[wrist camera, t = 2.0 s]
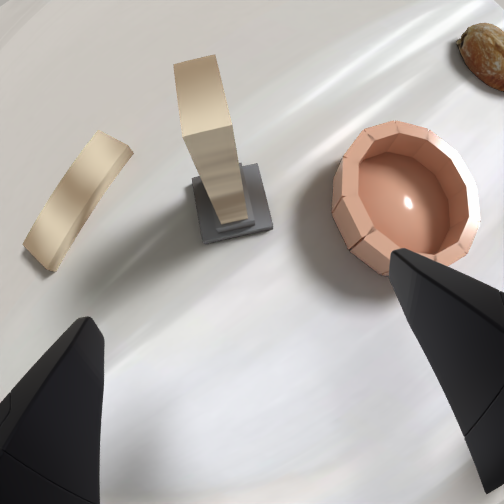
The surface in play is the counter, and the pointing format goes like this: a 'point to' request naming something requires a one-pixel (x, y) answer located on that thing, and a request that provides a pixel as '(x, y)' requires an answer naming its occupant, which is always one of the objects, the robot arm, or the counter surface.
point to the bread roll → (484, 53)
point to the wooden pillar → (217, 157)
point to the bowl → (404, 196)
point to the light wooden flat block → (76, 199)
